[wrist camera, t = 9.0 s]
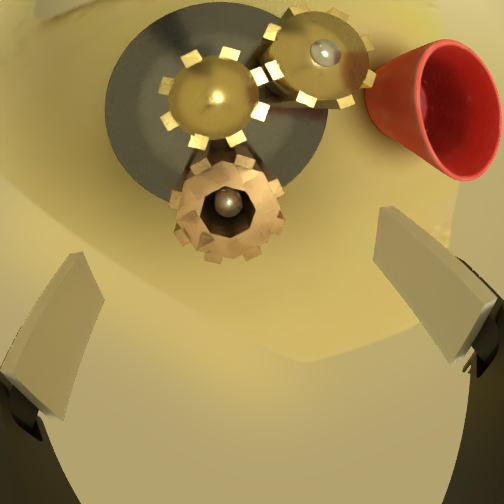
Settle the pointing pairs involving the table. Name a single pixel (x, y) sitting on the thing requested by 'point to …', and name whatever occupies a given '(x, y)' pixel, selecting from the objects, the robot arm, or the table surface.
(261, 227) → the gear
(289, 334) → the table surface
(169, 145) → the carrier
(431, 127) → the flower pot
